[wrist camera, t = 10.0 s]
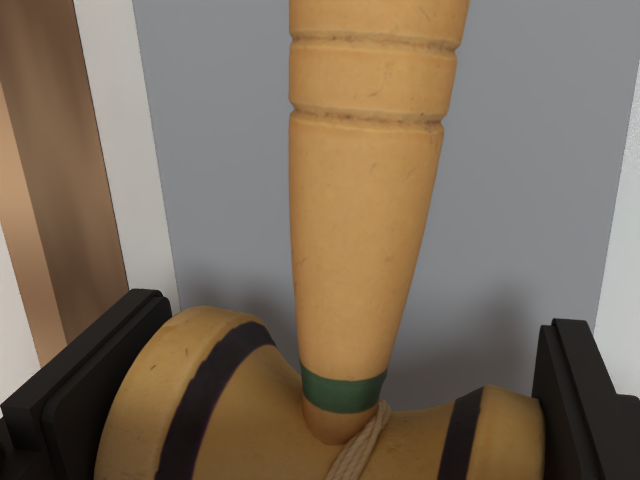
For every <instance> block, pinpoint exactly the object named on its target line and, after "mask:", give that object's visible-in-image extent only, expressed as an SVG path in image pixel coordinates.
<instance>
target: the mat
mask: <svg viewBox="0 0 640 480" xmlns="http://www.w3.org/2000/svg"><path fill="white" fill-rule="evenodd" d="M132 2H133V9H134V15H135V21H136V28H137V34H138V40H139V47H140V53H141V59H142V66H143V72H144V79H145V85H146V91H147V98H148V104H149V110H150V117H151V123H152V130H153V136H154V142H155V149H156V155H157V161H158V168H159V174H160V181H161V187H162V193H163V200H164V206H165V212H166V219H167V225H168V232H169V238H170V244H171V251H172V257H173V263H174V270H175V276H176V283H177V289H178V295H179V302H180V308H181V311H183V310H185V309H188V308H191V307H193V306H202V305H205V306H213V307H217V308H222V309H228V310H233V311H238V312H243V313H247V314H252V315H254V316H256V317H258V318H259V319H261V320H262V321H263V322H264V324H265V325H266V327H267V328H268V330H269V332H270V335H271V338H272V339H273V341H274V342H275V344H276V347H277V348H278V350H279V352H280V353H281V355H282V356H283V358H284V359H285V360H286V361H287V362H288V364H289V365H290V366H291V367H292V368H293V369H294V370H295V371H296V372H297V373H298V374H299V375H300V376H301V368H300V361H299V348H298V340H297V326H296V311H295V296H294V287H293V274H292V261H291V241H290V213H289V136H288V129H289V117H290V113H291V112H293V111H294V110H295V109H294V107H293V105H292V104H291V103H290V102H289V98H288V94H289V54H290V44H291V42H292V41H293V39H292V37H291V35H290V33H289V0H132ZM455 54H456V56H457V67H456V74H455V79H454V84H453V90H452V94H451V100H450V106H449V110H448V113H447V115H446V116H445V117H444V118H443V119H442V120H441V124H442V125H443V127H444V138H443V144H442V149H441V153H440V158H439V163H438V169H437V174H436V179H435V183H434V188H433V193H432V197H431V202H430V207H429V212H428V216H427V221H426V226H425V231H424V235H423V239H422V244H421V247H420V251H419V255H418V259H417V263H416V267H415V271H414V276H413V279H412V283H411V286H410V290H409V294H408V298H407V302H406V306H405V309H404V312H403V316H402V319H401V323H400V326H399V329H398V333H397V337H396V340H395V344H394V348H393V351H392V355H391V358H390V361H389V365H388V370H387V377H386V379H385V380H384V382H383V384H382V388H381V392H380V399H379V400H381V399H384V400H385V401H386V403H387V405H389V406H390V408H391V412H395V411H414V410H421V409H427V408H431V407H436V406H439V405H442V404H445V403H447V402H450V401H452V400H455V399H457V398H459V397H462V396H464V395H466V394H468V393H470V392H472V391H474V390H476V389H478V388H481V387H483V386H485V385H490V384H491V385H495V386H499V387H503V388H505V389H508V390H511V391H514V392H517V393H520V394H523V395H526V396H528V397H531V394H532V386H533V378H534V370H535V362H536V354H537V346H538V338H539V331H540V326H541V325H551V322H552V319H553V318H561V319H575V320H586V321H587V323H588V325H589V328H590V330H591V333H592V335H593V334H594V328H595V322H596V316H597V310H598V304H599V298H600V292H601V286H602V280H603V274H604V268H605V262H606V256H607V250H608V245H609V239H610V233H611V227H612V221H613V215H614V209H615V203H616V197H617V191H618V185H619V179H620V173H621V167H622V161H623V155H624V149H625V143H626V137H627V131H628V125H629V119H630V113H631V107H632V101H633V95H634V89H635V83H636V77H637V71H638V65H639V59H640V0H470V4H469V8H468V13H467V17H466V23H465V28H464V33H463V38H462V42H461V45H460V46H459V47H458V48H457V49H456V50H455ZM301 377H302V376H301Z"/></svg>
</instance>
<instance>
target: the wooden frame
mask: <svg viewBox="0 0 640 480" xmlns="http://www.w3.org/2000/svg"><path fill="white" fill-rule="evenodd" d="M0 222H1V226H2V230H3V233H4V237H5V240H6V244H7V247H8V251H9V255H10V258H11V262H12V265H13V269H14V273H15V276H16V280H17V283H18V287H19V291H20V294H21V298H22V301H23V305H24V309H25V312H26V316H27V319H28V323H29V327H30V330H31V334H32V337H33V341H34V344H35V348H36V352H37V355H38V359H39V362H40V366H41V368H43V367H44V366H45V365H46V364H47V363H48V362H49V361H50V360H52V359H53V358H54V357H55V356H56V355H57V354H58V353H60V352H61V351H62V350H63V349H64V348H65V347H66V346H67V345H69V344H70V343H71V342H72V341H73V340H74V339H75V338H76V337H78V336H79V335H80V334H81V333H82V332H83V331H84V330H86V329H87V328H88V327H89V326H90V325H91V324H92V323H93V322H95V321H96V320H97V319H98V318H99V317H100V316H101V315H103V314H104V313H105V312H106V311H107V310H108V309H109V308H110V307H112V306H113V305H114V304H115V303H116V302H117V301H118V300H120V299H121V298H122V297H123V296H124V295H125V294H126V293H127V292H129V289H128V284H127V279H126V274H125V269H124V264H123V259H122V254H121V248H120V243H119V238H118V233H117V228H116V223H115V218H114V212H113V207H112V202H111V197H110V192H109V187H108V182H107V176H106V171H105V166H104V161H103V156H102V151H101V146H100V140H99V135H98V130H97V125H96V120H95V115H94V110H93V104H92V99H91V94H90V89H89V84H88V79H87V74H86V68H85V63H84V58H83V53H82V48H81V43H80V38H79V33H78V27H77V22H76V17H75V12H74V7H73V2H72V0H0Z"/></svg>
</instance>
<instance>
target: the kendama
mask: <svg viewBox="0 0 640 480" xmlns="http://www.w3.org/2000/svg"><path fill="white" fill-rule="evenodd" d="M469 4H470V0H289V33H290V35H291V37H292V39H293V41H292V42H291V44H290V54H289V94H288V98H289V102H290V103H291V104H292V105H293V107H294V109H295V110H294V111H293V112H291V113H290V117H289V129H288V136H289V213H290V241H291V261H292V274H293V287H294V296H295V311H296V326H297V340H298V348H299V361H300V368H301V376H302V377H301V376H300V375H299V374H298V373H297V372H296V371H295V370H294V369H293V368H292V367H291V366H290V365H289V364H288V362H287V361H286V360H285V359H284V358H283V356H282V355H281V353H280V352H279V350H278V348H277V347H276V344H275V342H274V341H273V339H272V338H271V335H270V332H269V330H268V328H267V327H266V325H265V324H264V322H263V321H262V320H261V319H259V318H258V317H256V316H254V315H252V314H247V313H243V312H238V311H233V310H228V309H222V308H217V307H213V306H205V305H202V306H193V307H191V308H188V309H185V310H183V311H181V312H179V313H178V314H176V315H174V316H173V317H172V318H170V319H169V320H168V321H167V322H165V323H164V324H163V325H162V327H161V328H160V329H159V330H158V331H157V332H156V333H155V334H154V335H153V337H152V338H151V339H150V340H149V341H148V343H147V344H146V345H145V346H144V348H143V349H142V350H141V352H140V353H139V355H138V356H137V358H136V359H135V361H134V362H133V365H132V366H131V367H130V369H129V371H128V373H127V374H126V376H125V378H124V380H123V382H122V384H121V386H120V388H119V390H118V392H117V394H116V396H115V398H114V401H113V403H112V406H111V408H110V411H109V414H108V417H107V419H106V422H105V425H104V429H103V432H102V435H101V439H100V443H99V448H98V452H97V458H96V463H95V468H94V478H93V480H543V479H544V471H545V450H546V445H545V441H546V421H545V415H544V412H543V410H542V408H541V406H540V403H539V399H536V398H531V397H528V396H526V395H523V394H520V393H517V392H514V391H511V390H508V389H505V388H503V387H499V386H495V385H491V384H490V385H485V386H483V387H481V388H478V389H476V390H474V391H472V392H470V393H468V394H466V395H464V396H462V397H459V398H457V399H455V400H452V401H450V402H447V403H445V404H442V405H439V406H436V407H431V408H427V409H421V410H414V411H395V412H391V408H390V406H389V405H387V403H386V401H385V400H384V399H381V400H379V399H380V392H381V388H382V384H383V382H384V380H385V379H386V377H387V370H388V365H389V361H390V358H391V355H392V351H393V348H394V344H395V340H396V337H397V333H398V329H399V326H400V323H401V319H402V316H403V312H404V309H405V306H406V302H407V298H408V294H409V290H410V286H411V283H412V279H413V276H414V271H415V267H416V263H417V259H418V255H419V251H420V247H421V244H422V239H423V235H424V231H425V226H426V221H427V216H428V212H429V207H430V202H431V197H432V193H433V188H434V183H435V179H436V174H437V169H438V163H439V158H440V153H441V149H442V144H443V138H444V127H443V125H442V124H441V120H442V119H443V118H444V117H445V116H446V115H447V113H448V110H449V106H450V100H451V94H452V90H453V84H454V79H455V74H456V67H457V56H456V54H455V50H456V49H457V48H458V47H459V46H460V45H461V42H462V38H463V33H464V28H465V23H466V17H467V13H468V8H469Z"/></svg>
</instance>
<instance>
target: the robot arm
mask: <svg viewBox="0 0 640 480" xmlns="http://www.w3.org/2000/svg"><path fill="white" fill-rule="evenodd" d="M170 318H172V312H171V305H170V302H169V300H168V298H166V297H163V295H162V293H161V292H160V291H159V290H149V289H131V290H130V291H129V292H127V293H126V294H125V295H124V296H123V297H122V298H121V299H120V300H118V301H117V302H116V303H115V304H114V305H113V306H112V307H110V308H109V309H108V310H107V311H106V312H105V313H104V314H103V315H101V316H100V317H99V318H98V319H97V320H96V321H95V322H93V323H92V324H91V325H90V326H89V327H88V328H87V329H86V330H84V331H83V332H82V333H81V334H80V335H79V336H78V337H76V338H75V339H74V340H73V341H72V342H71V343H70V344H69V345H67V346H66V347H65V348H64V349H63V350H62V351H61V352H60V353H58V354H57V355H56V356H55V357H54V358H53V359H52V360H50V361H49V362H48V363H47V364H46V365H45V366H44V367H43V368H41V369H40V370H39V371H38V372H37V373H36V374H35V375H33V376H32V377H31V378H30V379H29V380H28V381H27V382H26V383H24V384H23V385H22V386H21V387H20V388H19V389H18V390H16V391H15V392H14V393H13V394H12V395H11V396H10V397H9V398H7V399H6V400H5V401H4V402H3V403H2V404H1V405H0V407H1V410H2V413H3V417H2V418H1V419H0V480H93V478H94V468H95V463H96V458H97V452H98V448H99V443H100V439H101V435H102V432H103V429H104V425H105V422H106V419H107V417H108V414H109V411H110V408H111V406H112V403H113V401H114V398H115V396H116V394H117V392H118V390H119V388H120V386H121V384H122V382H123V380H124V378H125V376H126V374H127V373H128V371H129V369H130V367H131V366H132V365H133V362H134V361H135V359H136V358H137V356H138V355H139V353H140V352H141V350H142V349H143V348H144V346H145V345H146V344H147V343H148V341H149V340H150V339H151V338H152V337H153V335H154V334H155V333H156V332H157V331H158V330H159V329H160V328H161V327H162V325H163V324H164V323H165V322H167V321H168V320H169V319H170ZM531 398H536V399H539V403H540V406H541V408H542V410H543V412H544V415H545V421H546V441H545V445H546V450H545V471H544V479H543V480H640V400H639V398H638V397H636V396H632V395H621V394H616V391H615V389H614V386H613V384H612V381H611V379H610V376H609V374H608V372H607V369H606V367H605V364H604V362H603V359H602V357H601V355H600V352H599V350H598V347H597V345H596V342H595V340H594V338H593V335H592V333H591V330H590V328H589V325H588V323H587V321H586V320H575V319H561V318H553V319H552V322H551V325H541V326H540V331H539V338H538V346H537V354H536V362H535V370H534V378H533V386H532V394H531Z"/></svg>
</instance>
